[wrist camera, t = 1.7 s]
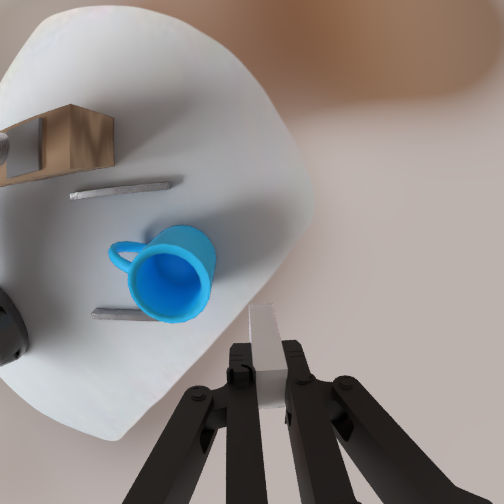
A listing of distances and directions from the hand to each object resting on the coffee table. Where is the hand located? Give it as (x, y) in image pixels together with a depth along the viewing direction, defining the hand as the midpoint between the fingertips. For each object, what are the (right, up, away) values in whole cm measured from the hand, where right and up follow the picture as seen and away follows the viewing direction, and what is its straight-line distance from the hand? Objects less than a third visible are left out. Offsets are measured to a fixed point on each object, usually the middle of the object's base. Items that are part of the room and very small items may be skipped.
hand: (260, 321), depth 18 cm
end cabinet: (-23, +17, +10) cm, 30 cm away
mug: (-11, +4, +15) cm, 19 cm away
